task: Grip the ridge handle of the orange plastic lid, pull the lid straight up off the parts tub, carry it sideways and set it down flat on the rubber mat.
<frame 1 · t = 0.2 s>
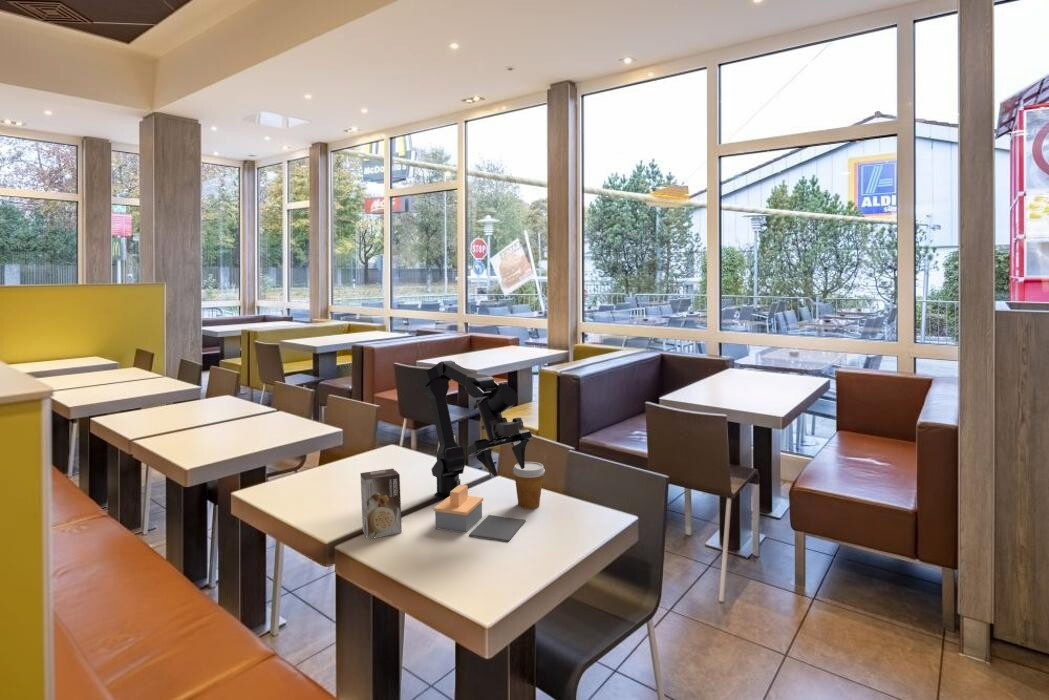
hand: (509, 472, 162), 15 cm above the table, tool tilted 30°, fingers open, 9 cm apart
coffee box: (381, 532, 158), on the table
tub: (459, 523, 164), on the table
disposable coffee cup: (528, 505, 177), on the table
mat: (498, 528, 160), on the table
lid: (459, 508, 163), point 4 cm above the table, touching tub
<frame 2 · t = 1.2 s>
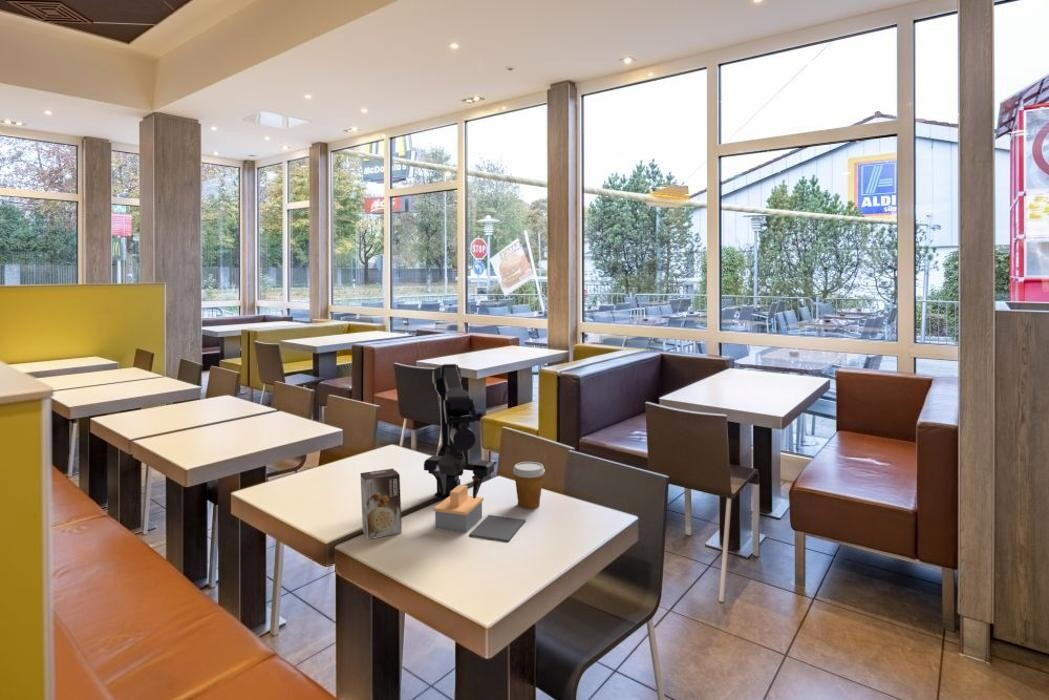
hand: (459, 496, 163), 8 cm above the table, tool pointing down, fingers open, 9 cm apart
nothing on the table moved.
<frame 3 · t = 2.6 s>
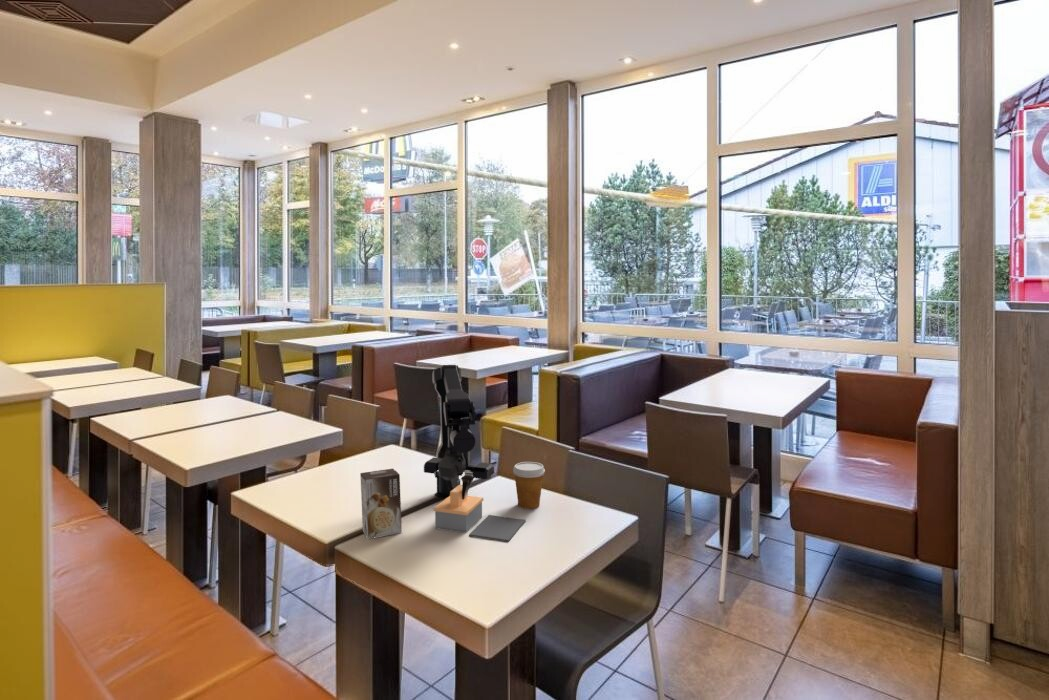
hand: (459, 498, 163), 7 cm above the table, tool pointing down, fingers closed on lid, 2 cm apart
lid: (459, 508, 163), point 4 cm above the table, touching gripper, tub
everything else where it was.
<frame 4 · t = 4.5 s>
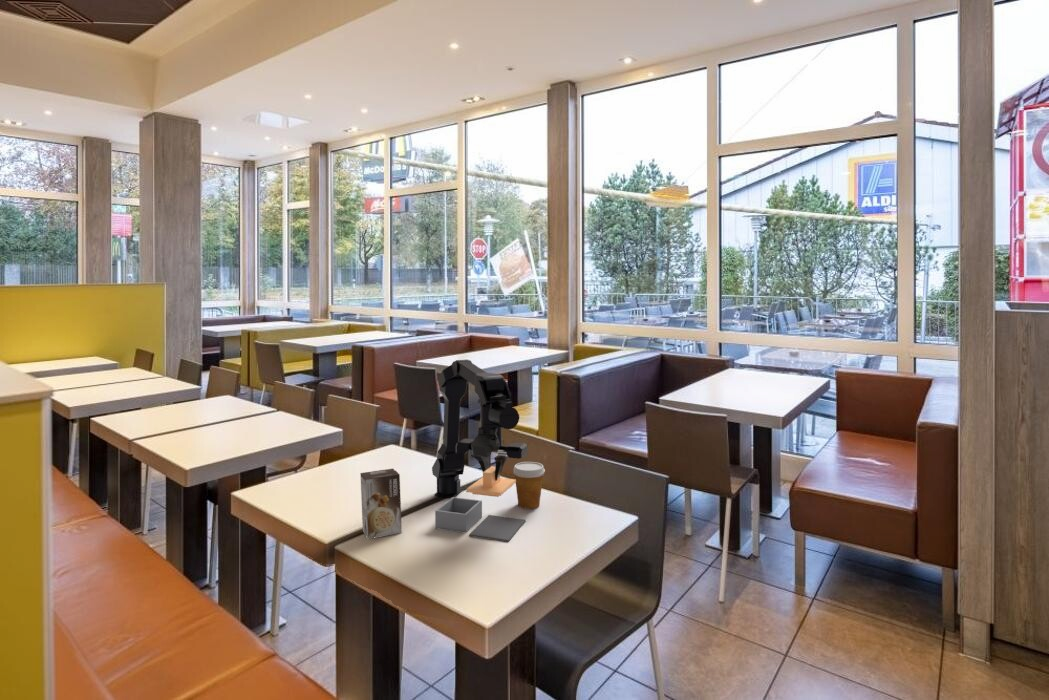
hand: (491, 479, 159), 13 cm above the table, tool pointing down, fingers closed on lid, 2 cm apart
lid: (491, 490, 159), point 11 cm above the table, touching gripper
everything else where it was.
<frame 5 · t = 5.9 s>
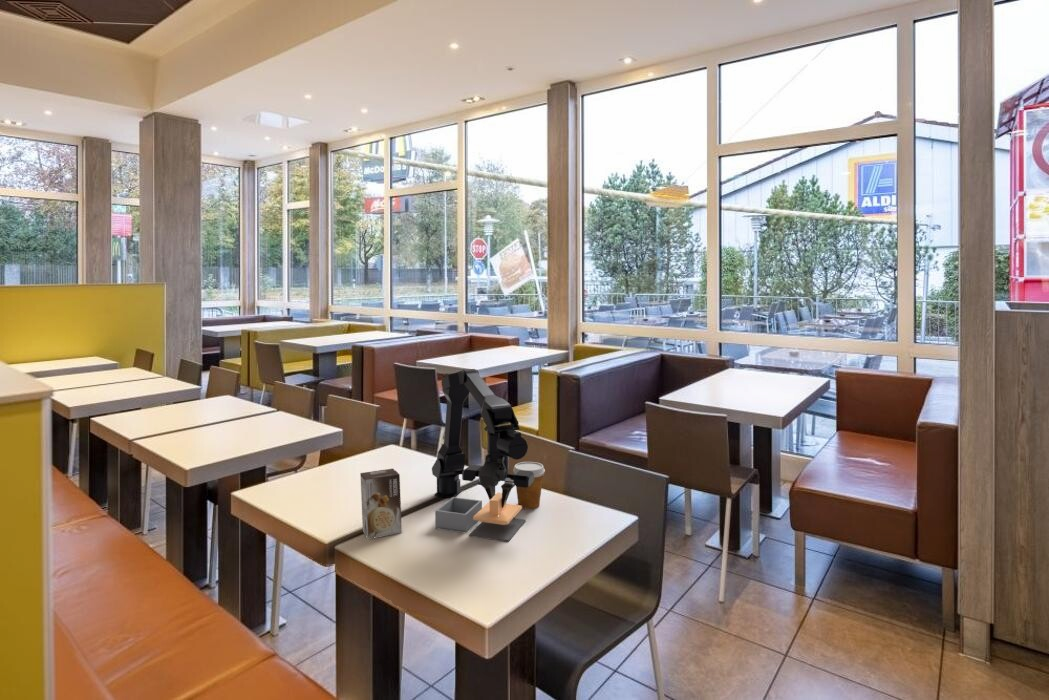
hand: (498, 506, 159), 6 cm above the table, tool pointing down, fingers closed on lid, 2 cm apart
lid: (498, 516, 160), point 3 cm above the table, touching gripper
everything else where it was.
when the fingers open (5 cm above the table, at t = 6.7 s): lid drops 2 cm, resting on mat.
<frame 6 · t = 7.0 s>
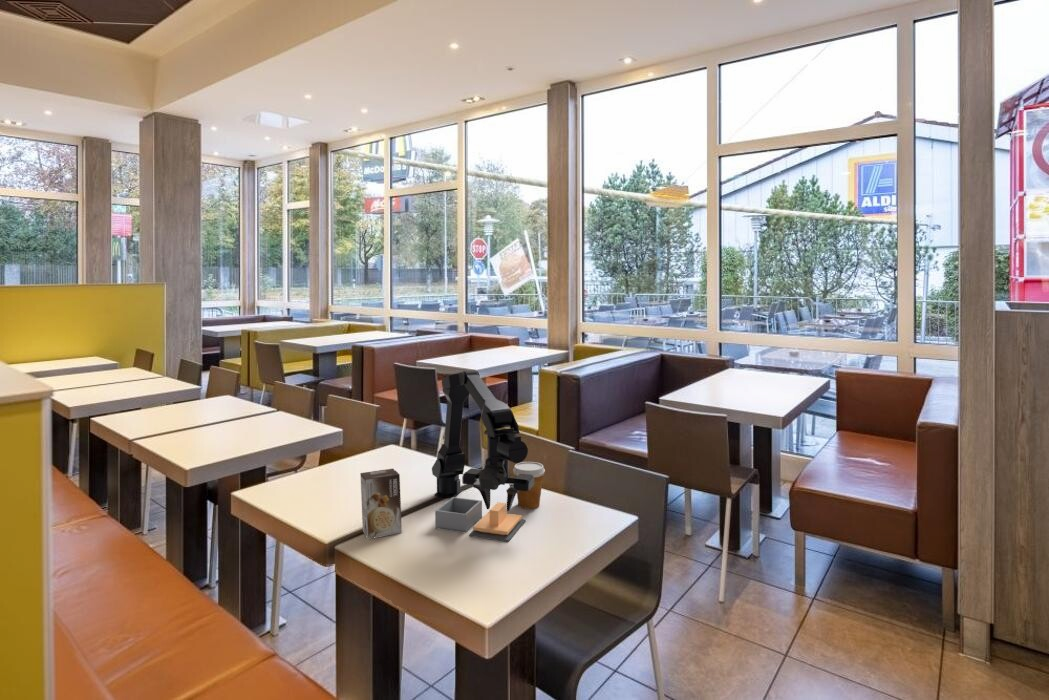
hand: (498, 510, 159), 5 cm above the table, tool pointing down, fingers open, 5 cm apart
lid: (498, 526, 160), resting on mat
everything else where it was.
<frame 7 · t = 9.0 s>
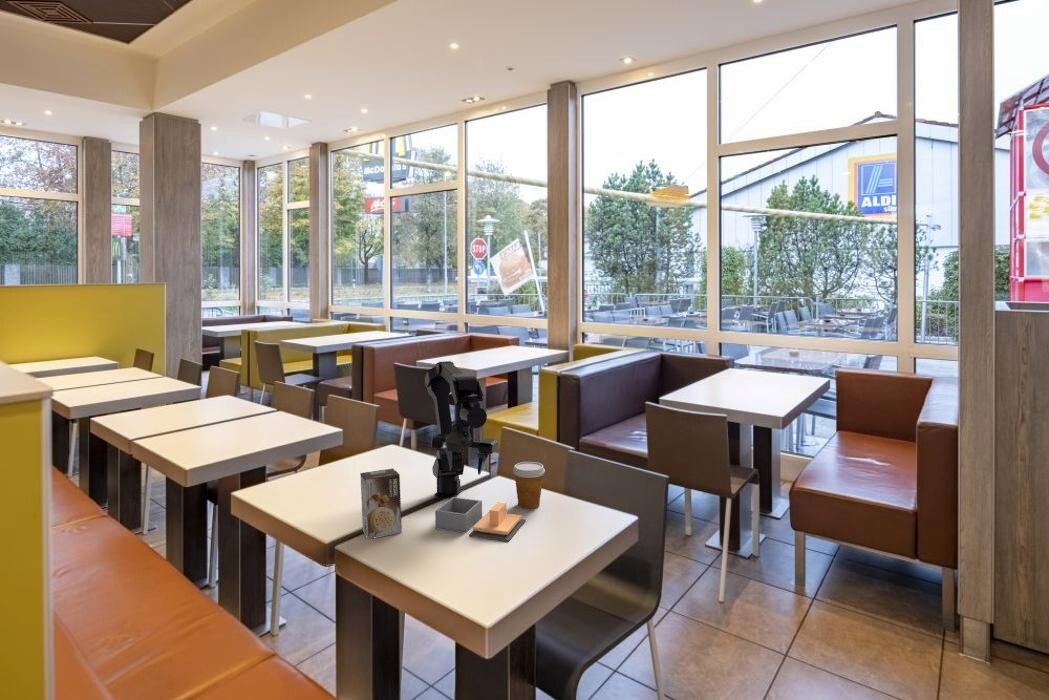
hand: (464, 472, 171), 12 cm above the table, tool pointing down, fingers open, 9 cm apart
nothing on the table moved.
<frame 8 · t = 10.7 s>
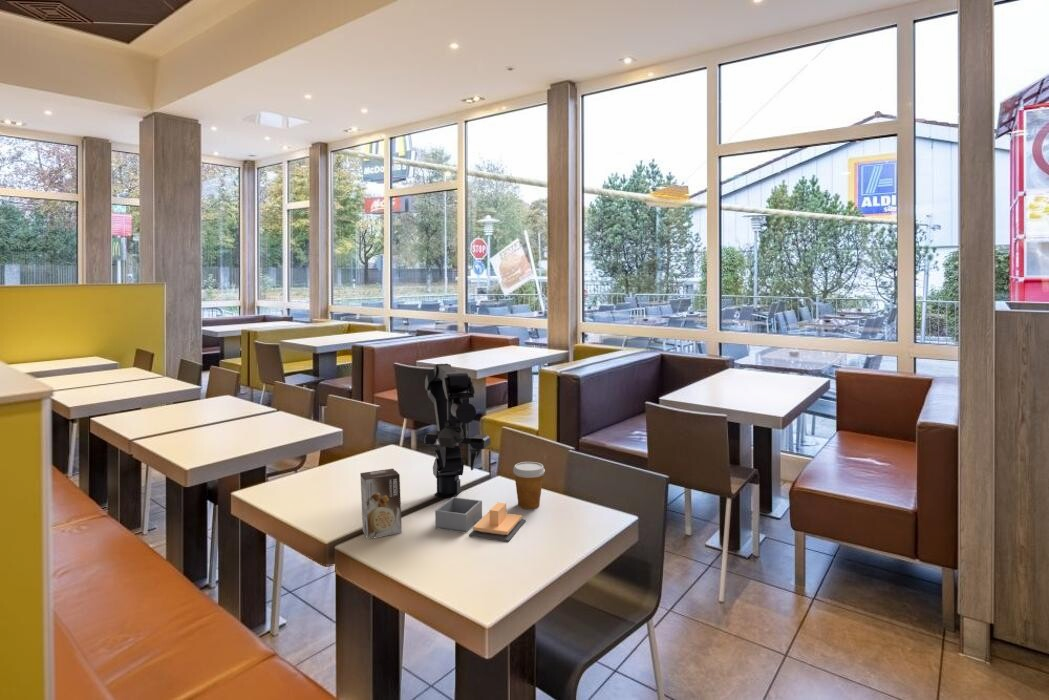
hand: (457, 468, 173), 12 cm above the table, tool pointing down, fingers open, 9 cm apart
nothing on the table moved.
at the end: lid 0.1 cm off-centre on the mat, point 0.5 cm above the mat's base; lid touching mat; lid tilted 0° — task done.
